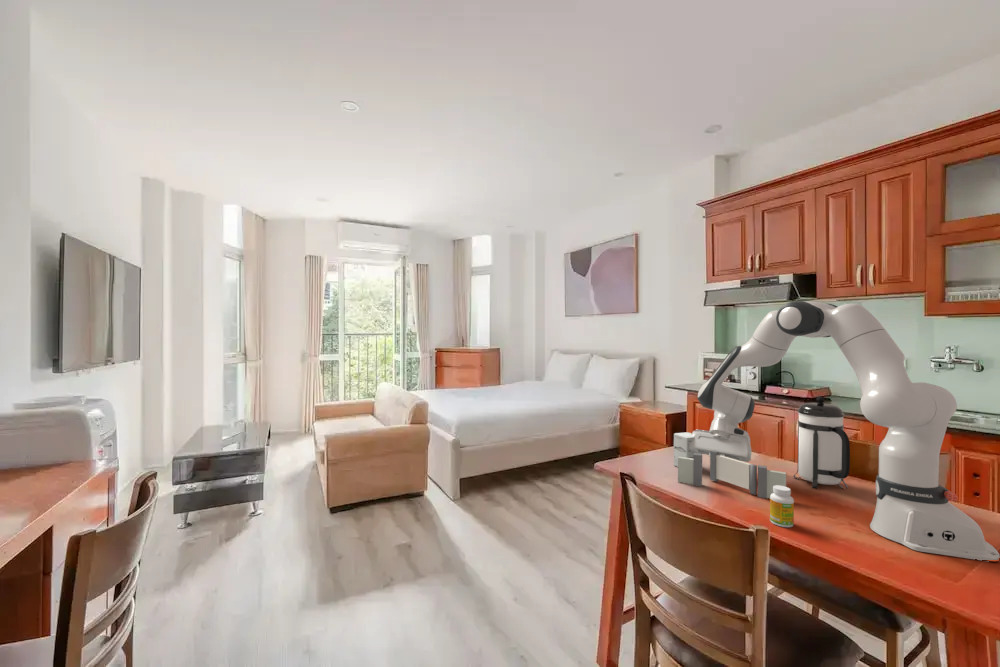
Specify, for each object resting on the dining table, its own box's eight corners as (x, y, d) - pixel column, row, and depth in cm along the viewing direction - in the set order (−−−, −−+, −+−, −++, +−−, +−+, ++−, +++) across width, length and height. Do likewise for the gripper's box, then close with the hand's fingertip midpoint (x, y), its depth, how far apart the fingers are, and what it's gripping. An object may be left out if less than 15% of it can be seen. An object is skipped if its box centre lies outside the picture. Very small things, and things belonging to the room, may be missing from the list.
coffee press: (785, 482, 146) (786, 395, 146) (802, 473, 156) (802, 391, 155) (848, 498, 132) (849, 402, 132) (862, 487, 142) (863, 398, 142)
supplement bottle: (782, 529, 112) (783, 492, 112) (765, 520, 117) (765, 485, 117) (798, 526, 113) (798, 490, 113) (780, 517, 119) (780, 483, 118)
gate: (758, 493, 135) (758, 462, 135) (754, 494, 134) (754, 463, 134) (713, 478, 148) (713, 450, 148) (710, 479, 147) (710, 451, 147)
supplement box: (672, 465, 164) (673, 433, 164) (688, 463, 167) (688, 431, 167) (686, 471, 157) (686, 437, 157) (702, 469, 160) (702, 436, 159)
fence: (785, 499, 131) (785, 465, 131) (785, 502, 129) (786, 467, 129) (678, 480, 148) (678, 450, 148) (677, 482, 146) (677, 452, 146)
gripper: (691, 423, 162) (682, 455, 154) (752, 432, 148) (745, 467, 141) (695, 433, 165) (686, 464, 158) (755, 442, 151) (748, 477, 144)
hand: (714, 465), depth 149 cm, fingers closed
